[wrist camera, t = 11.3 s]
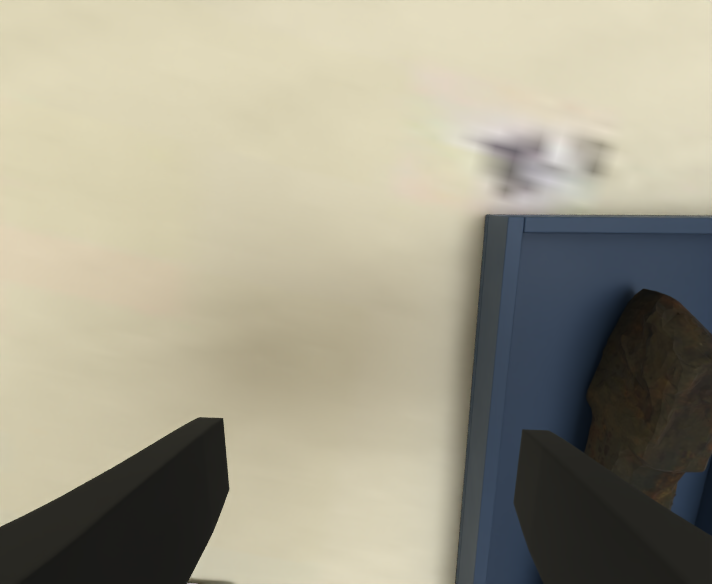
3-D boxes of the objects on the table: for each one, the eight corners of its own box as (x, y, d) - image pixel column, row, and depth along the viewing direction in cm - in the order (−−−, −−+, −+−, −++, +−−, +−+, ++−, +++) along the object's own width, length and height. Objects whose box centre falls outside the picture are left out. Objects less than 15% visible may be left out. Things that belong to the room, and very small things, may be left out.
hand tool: (593, 620, 21) (655, 737, 16) (521, 611, 21) (562, 724, 16) (696, 292, 16) (819, 325, 12) (604, 283, 16) (690, 313, 12)
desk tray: (450, 642, 22) (461, 708, 19) (485, 214, 16) (508, 216, 14) (662, 657, 22) (706, 727, 19) (775, 215, 16) (865, 218, 13)
